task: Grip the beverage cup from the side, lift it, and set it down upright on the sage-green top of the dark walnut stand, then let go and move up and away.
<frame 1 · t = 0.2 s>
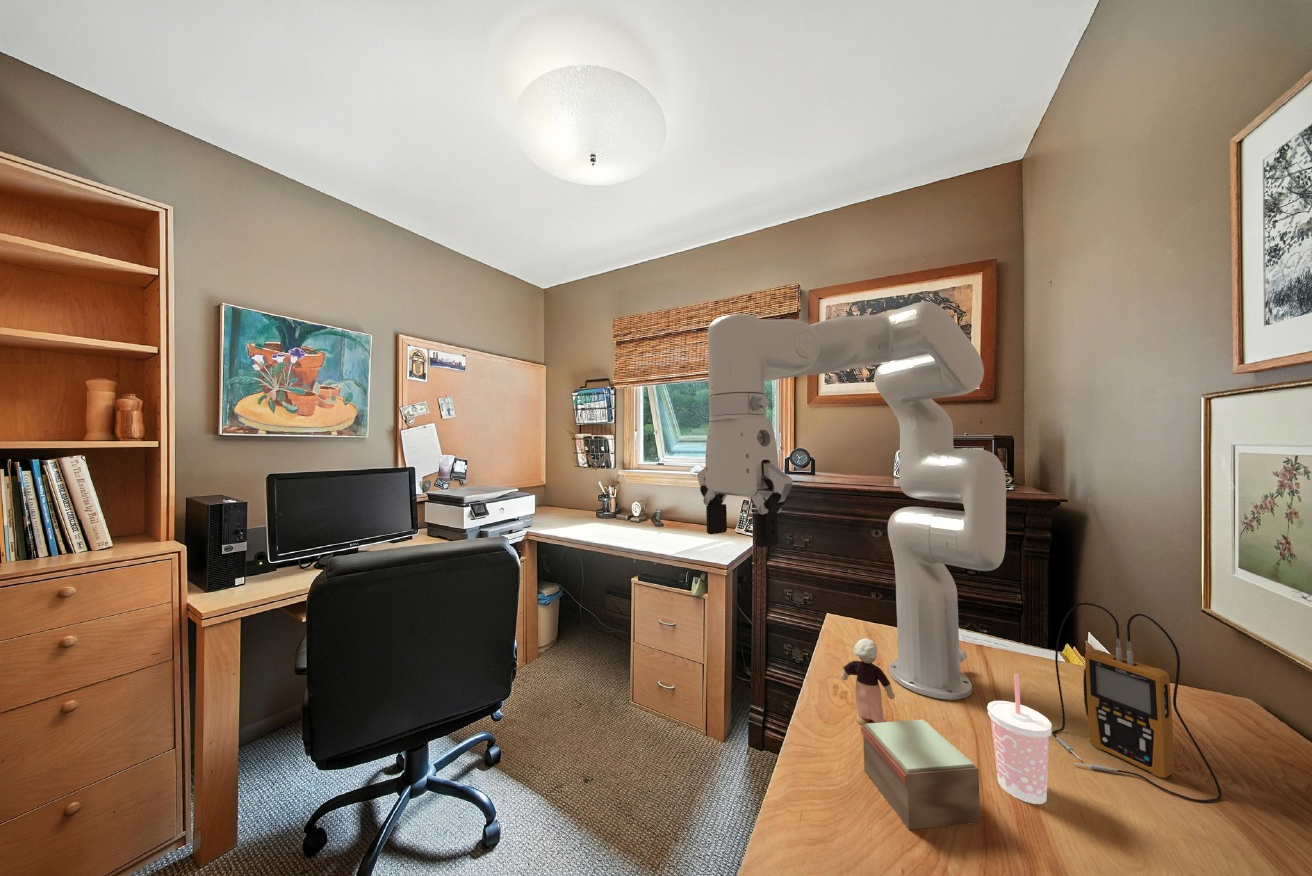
hand: (740, 538, 55), 31 cm above the table, tool pointing down, fingers open, 9 cm apart
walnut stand: (918, 794, 51), on the table
multimeter: (1118, 769, 55), on the table
grandmother figurine: (868, 722, 65), on the table
beverage cup: (1021, 790, 52), on the table
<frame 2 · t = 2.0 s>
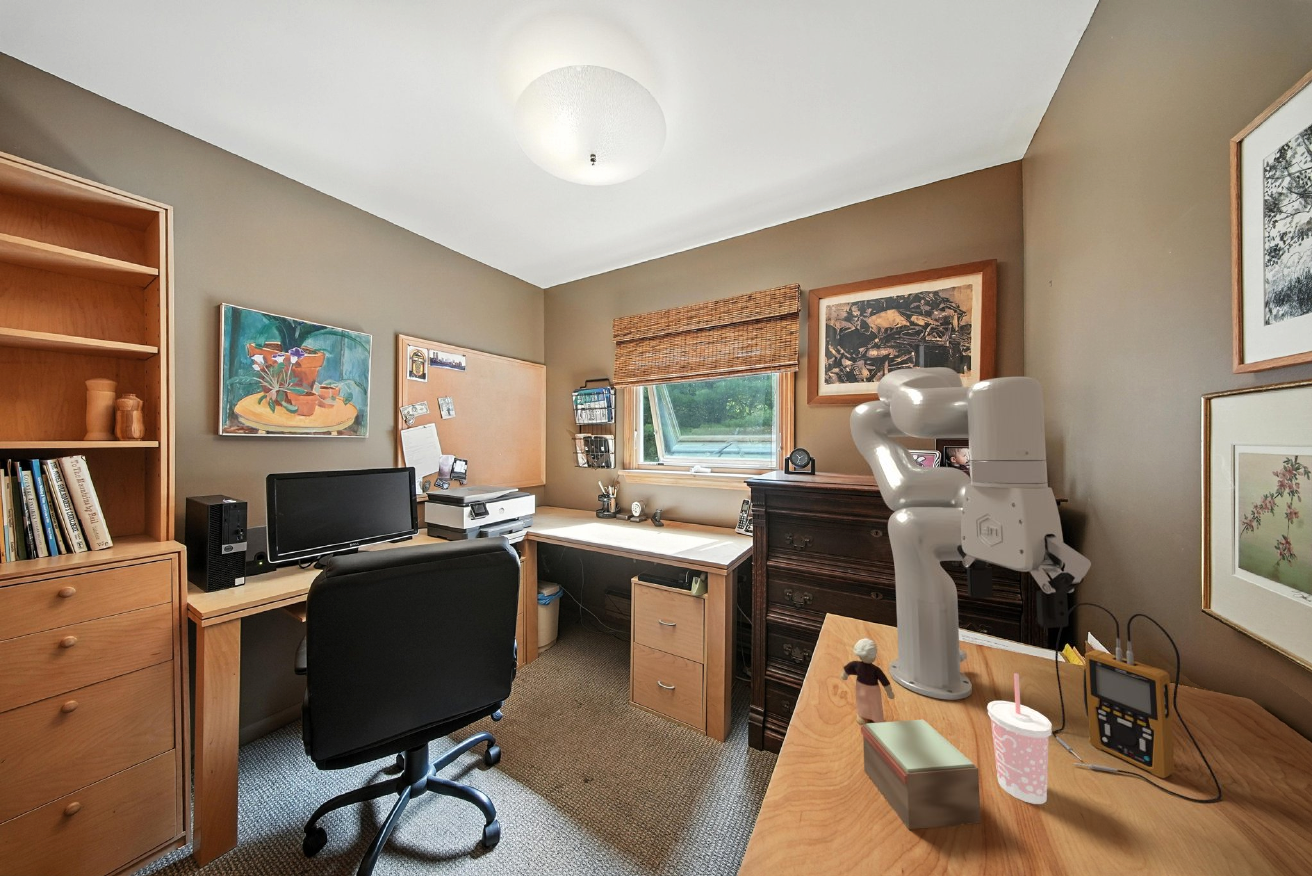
hand: (1013, 610, 52), 22 cm above the table, tool pointing down, fingers open, 9 cm apart
nothing on the table moved.
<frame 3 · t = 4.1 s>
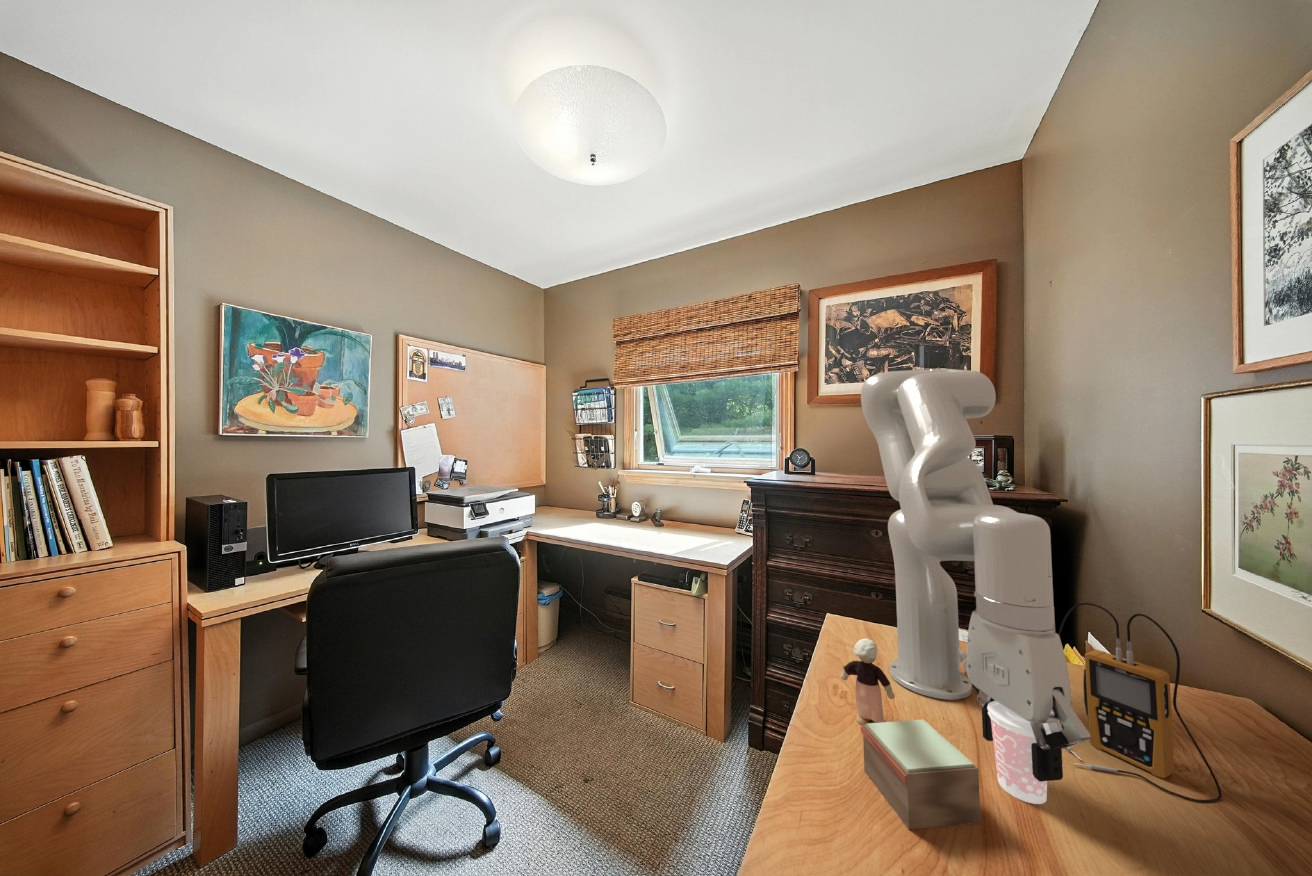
hand: (1020, 756, 52), 4 cm above the table, tool pointing down, fingers closed on beverage cup, 6 cm apart
beverage cup: (1021, 790, 52), on the table, touching gripper
everything else where it was.
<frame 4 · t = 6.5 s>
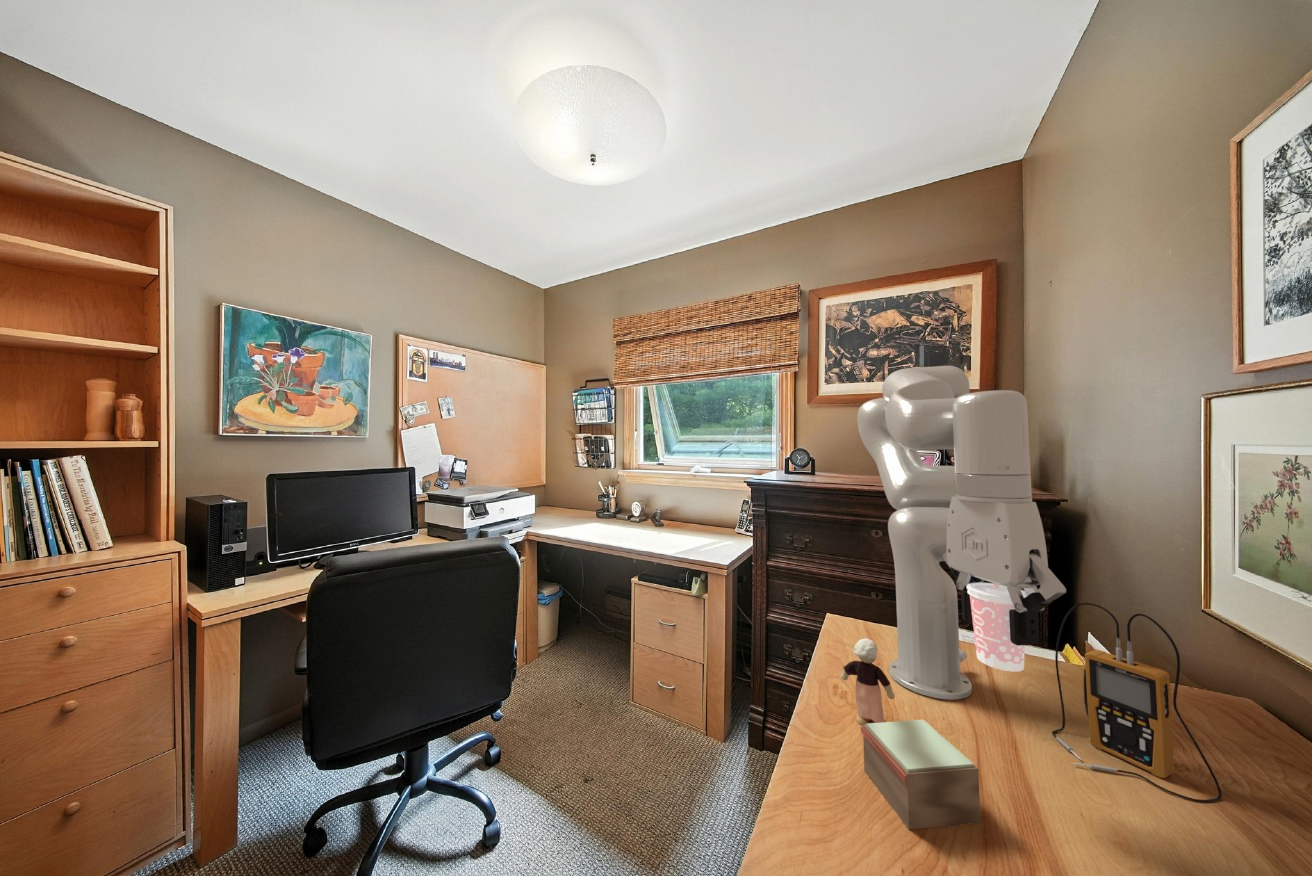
hand: (998, 630, 52), 20 cm above the table, tool pointing down, fingers closed on beverage cup, 6 cm apart
beverage cup: (1000, 663, 52), point 15 cm above the table, touching gripper
everything else where it was.
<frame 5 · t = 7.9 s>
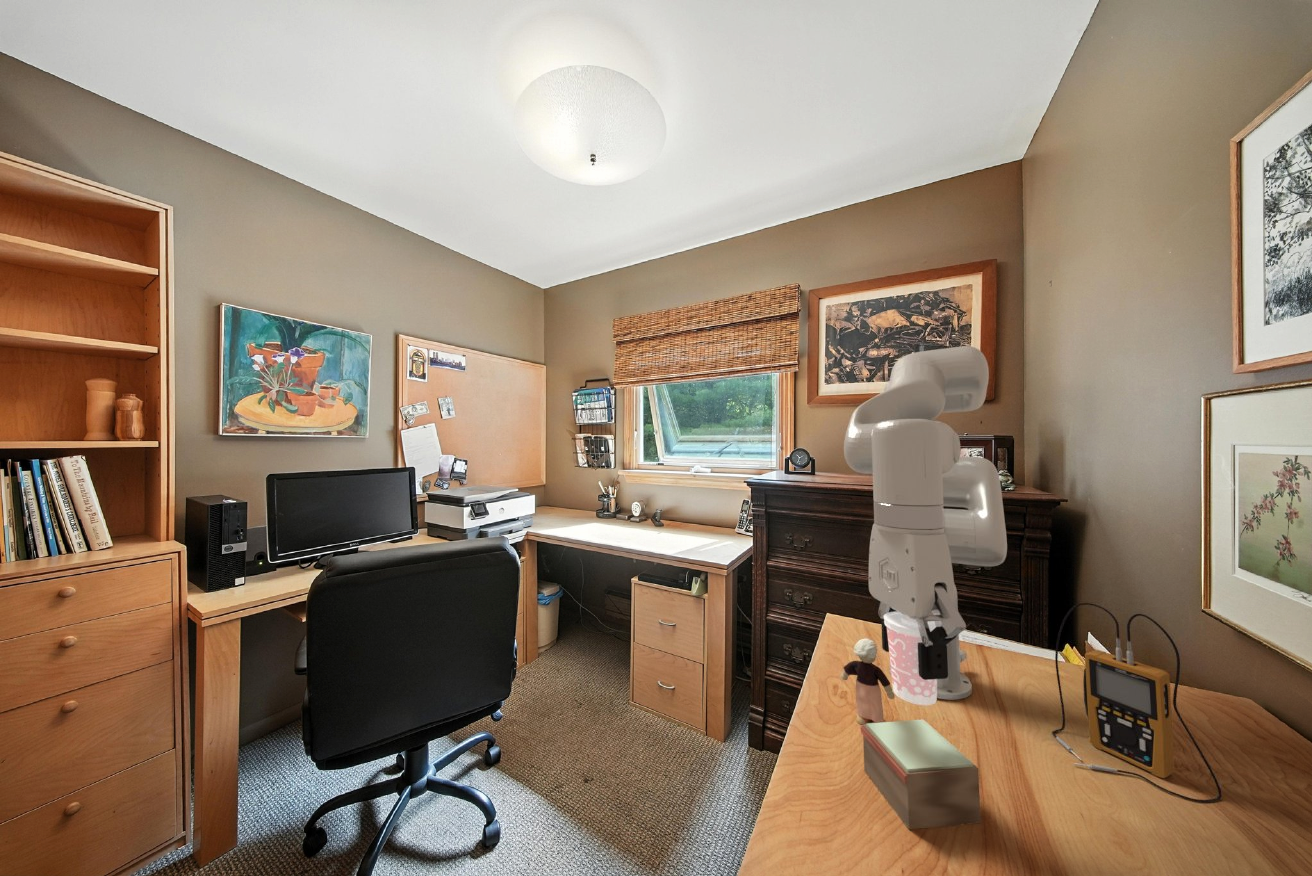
hand: (913, 661, 52), 16 cm above the table, tool pointing down, fingers closed on beverage cup, 6 cm apart
beverage cup: (914, 695, 51), point 12 cm above the table, touching gripper
everything else where it was.
when the fingers open (11 cm above the table, at t = 9.1 s): beverage cup drops 1 cm, resting on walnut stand.
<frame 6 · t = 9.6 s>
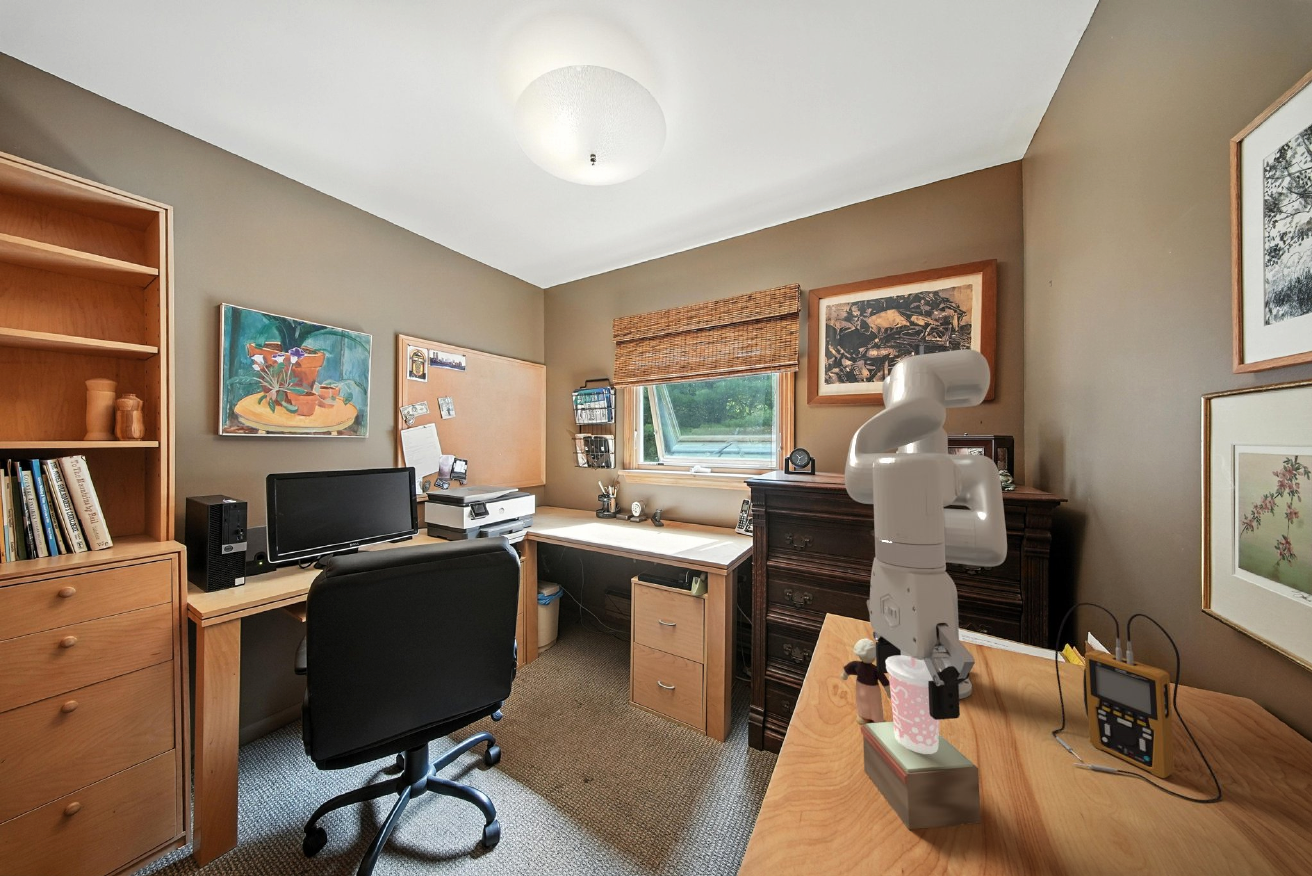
hand: (914, 692, 51), 12 cm above the table, tool pointing down, fingers open, 9 cm apart
beverage cup: (915, 742, 51), point 6 cm above the table, touching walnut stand
everything else where it was.
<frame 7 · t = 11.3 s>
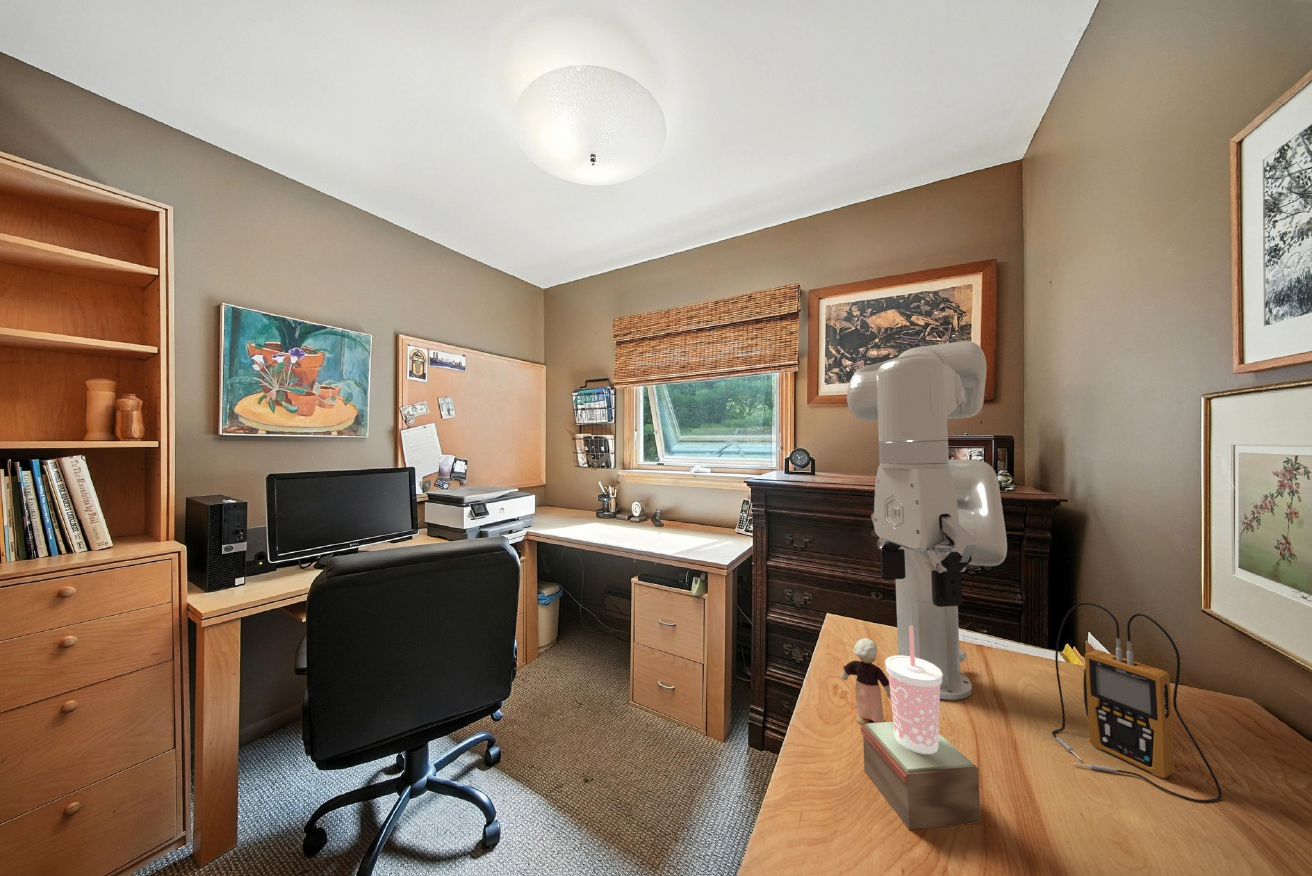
hand: (917, 590, 53), 25 cm above the table, tool pointing down, fingers open, 9 cm apart
nothing on the table moved.
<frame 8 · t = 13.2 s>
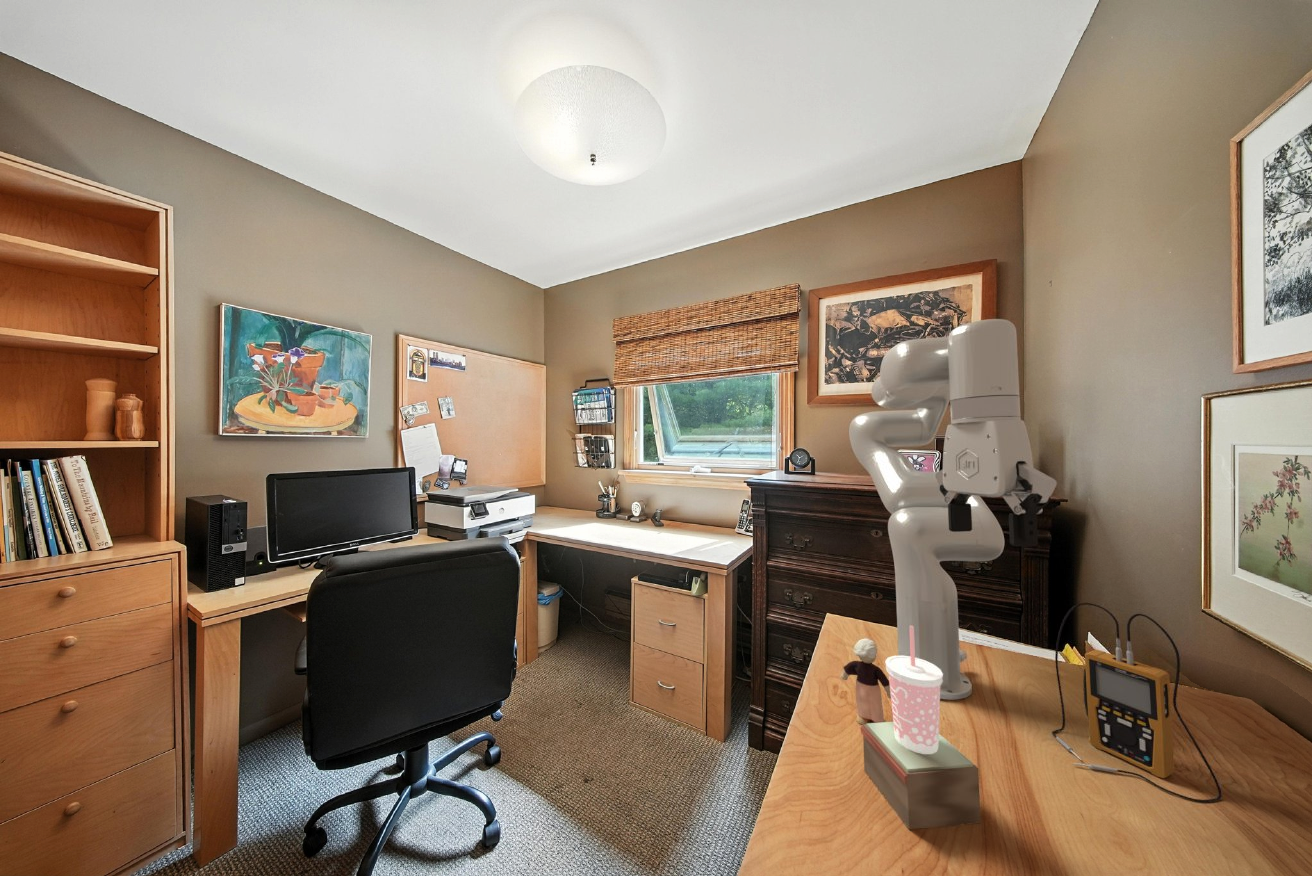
hand: (989, 537, 56), 30 cm above the table, tool pointing down, fingers open, 9 cm apart
nothing on the table moved.
at the end: beverage cup 0.2 cm off-centre on the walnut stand, point 6.1 cm above the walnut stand's base; beverage cup tilted 0°; the gripper is holding nothing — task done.
